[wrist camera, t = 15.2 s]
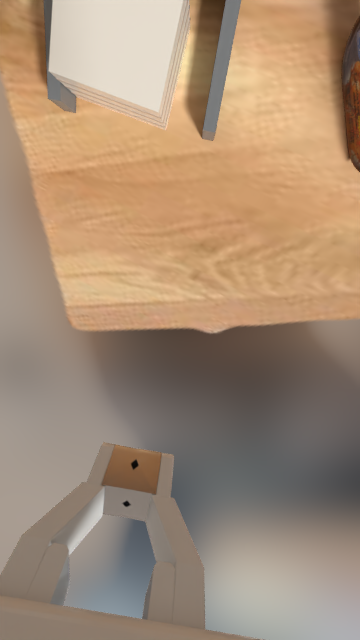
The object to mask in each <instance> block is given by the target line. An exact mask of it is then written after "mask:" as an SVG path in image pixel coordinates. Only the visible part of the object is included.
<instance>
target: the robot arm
mask: <svg viewBox="0 0 360 640" xmlns="http://www.w3.org/2000/svg"><path fill="white" fill-rule="evenodd" d="M173 463H174V455H172V454H165V453H161V452H156V451H150V450H143V449H136V448H130V447H125V446H120V445H116V444H110V443H105V442H104V443H103V444H102V446H101V448H100V450H99V453H98V455H97V458H96V460H95V463H94V465H93V468H92V470H91V473H90V475H89V478H88V481H87V483H86V482H82V483H81V484H80V485H79V486H78V487H77V488H75V489H74V490H73V491H72V492H71V493H70V494H69V495H67V496H66V497H65V498H64V499H63V500H62V501H61V502H60V503H58V504H57V505H56V506H55V507H54V508H53V509H51V510H50V511H49V512H48V513H47V514H46V515H45V516H43V517H42V518H41V519H40V520H39V521H38V522H37V523H35V524H34V525H33V526H32V527H31V528H30V529H29V530H27V531H26V532H25V533H24V534H23V535H22V536H21V538H20V540H19V541H18V543H17V546H16V547H15V549H14V551H13V553H12V555H11V556H10V558H9V560H8V562H7V564H6V566H5V568H4V570H3V571H2V573H1V575H0V640H264V639H258V638H252V637H246V636H240V635H235V634H228V633H223V632H217V631H211V630H205V598H204V597H205V594H204V567H203V564H202V562H201V560H200V557H199V555H198V553H197V550H196V548H195V546H194V543H193V541H192V539H191V537H190V534H189V532H188V530H187V527H186V525H185V523H184V520H183V518H182V516H181V513H180V511H179V509H178V506H177V504H176V502H175V499H174V498H170V495H171V485H172V474H173ZM103 514H107V515H113V516H120V517H127V518H131V519H136V520H141V521H145V522H146V526H147V529H148V533H149V537H150V540H151V544H152V548H153V551H154V555H155V559H156V562H157V563H156V564H155V566H154V569H153V572H152V576H151V579H150V582H149V586H148V589H147V592H146V596H145V602H144V610H143V617H142V619H139V618H133V617H127V616H122V615H116V614H109V613H103V612H98V611H91V610H86V609H79V608H74V607H68V606H63V604H64V601H65V598H66V595H67V592H68V589H69V585H70V573H69V572H70V571H69V570H70V568H69V555H70V554H71V553H72V551H73V550H74V549H75V548H76V547H77V545H78V544H79V543H80V542H81V541H82V540H83V538H84V537H85V536H86V535H87V534H88V532H89V531H90V530H91V529H92V528H93V527H94V525H95V524H96V523H97V522H98V521H99V519H100V518H101V517H102V516H103Z"/></svg>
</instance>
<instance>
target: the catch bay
mask: <svg viewBox="0 0 360 640" xmlns="http://www.w3.org/2000/svg"><path fill="white" fill-rule="evenodd" d="M240 3H241V0H226V2H225V8H224V13H223V19H222V25H221V30H220V36H219V42H218V47H217V53H216V59H215V64H214V70H213V76H212V81H211V87H210V93H209V98H208V104H207V110H206V115H205V121H204V126H203V135H202V139H206V140H211V141H213V140H214V136H215V131H216V126H217V121H218V116H219V111H220V106H221V101H222V96H223V90H224V85H225V80H226V75H227V70H228V65H229V60H230V55H231V50H232V44H233V39H234V34H235V29H236V24H237V19H238V14H239V9H240ZM52 4H53V0H44V17H45V40H46V63H47V87H48V99H49V100H51V101H52V102H53V103H55V104H56V105H58V106H59V107H60V108H62V109H63V110H65V111H69V112H74V113H76V96H75V95H74V94H73V93H71V91H70V90H69V89H68V88H66V87H65V86H64V85H63V84H62V83H61V82H60V81H59V80H57V79H56V77H55V76H53V75H52V74H51V73H50V72H49V55H50V38H51V21H52Z"/></svg>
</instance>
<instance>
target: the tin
mask: <svg viewBox="0 0 360 640" xmlns="http://www.w3.org/2000/svg"><path fill="white" fill-rule="evenodd" d="M342 87H343V98H344V108H345V119H346V130H347V141H348V150H349V155H350V158H351V161H352V163H353V165H354V166H355V168H356V169H357V170H358V171H359V172H360V17H359V18H358V20H357V21H356V23H355V25H354V27H353V29H352V31H351V34H350V36H349V39H348V42H347V45H346V49H345V53H344V57H343V65H342Z"/></svg>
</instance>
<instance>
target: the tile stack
mask: <svg viewBox="0 0 360 640" xmlns="http://www.w3.org/2000/svg"><path fill="white" fill-rule="evenodd" d="M189 9H190V5H189V0H53V4H52V21H51V38H50V55H49V72H50V73H51V74H52V75H53V76H55V77H56V79H57V80H59V81H60V82H61V83H62V84H63V85H64V86H65V87H66V88H68V89H69V90H70V91H71V93H73V94H74V95H75V96H77V97H78V98H80V99H83V100H86V101H88V102H91V103H94V104H96V105H99V106H102V107H104V108H107V109H110V110H113V111H115V112H118V113H121V114H123V115H126V116H129V117H131V118H134V119H137V120H139V121H142V122H145V123H147V124H150V125H153V126H155V127H158V128H161V129H163V130H166V129H167V125H168V121H169V116H170V112H171V108H172V104H173V99H174V95H175V91H176V86H177V82H178V78H179V74H180V69H181V65H182V61H183V57H184V52H185V48H186V44H187V40H188V35H189V31H190V13H189Z"/></svg>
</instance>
